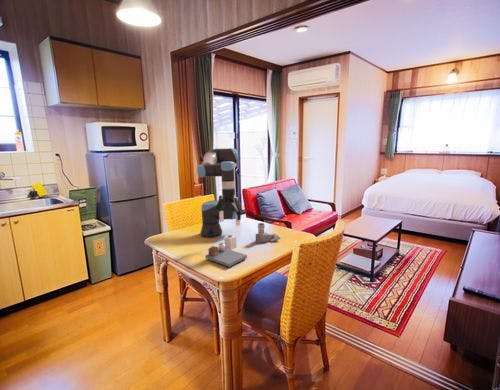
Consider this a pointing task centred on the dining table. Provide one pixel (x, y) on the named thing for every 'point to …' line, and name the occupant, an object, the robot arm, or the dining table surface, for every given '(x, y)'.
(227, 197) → the robot arm
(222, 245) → the metal part
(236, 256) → the grey flat block
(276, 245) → the dining table surface
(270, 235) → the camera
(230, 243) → the plastic part
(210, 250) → the walnut part
